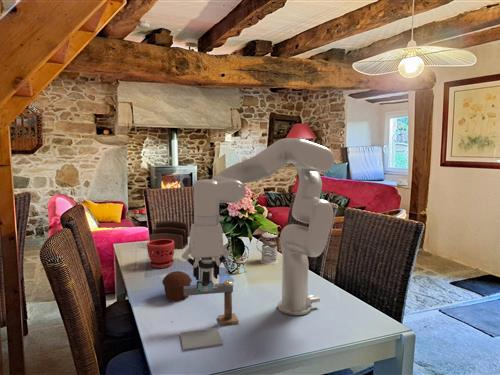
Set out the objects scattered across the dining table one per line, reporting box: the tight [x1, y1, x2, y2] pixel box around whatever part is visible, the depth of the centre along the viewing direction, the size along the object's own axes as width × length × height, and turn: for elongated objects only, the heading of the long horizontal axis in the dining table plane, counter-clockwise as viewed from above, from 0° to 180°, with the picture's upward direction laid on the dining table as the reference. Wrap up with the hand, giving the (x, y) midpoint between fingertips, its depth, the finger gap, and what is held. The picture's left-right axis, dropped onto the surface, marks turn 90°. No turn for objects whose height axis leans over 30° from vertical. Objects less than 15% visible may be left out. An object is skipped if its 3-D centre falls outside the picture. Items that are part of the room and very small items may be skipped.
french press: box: [256, 213, 280, 265], centre depth 196 cm, size 10×12×25 cm
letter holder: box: [149, 220, 189, 250], centre depth 224 cm, size 10×20×14 cm, turn 81°
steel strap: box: [184, 279, 234, 297], centre depth 130 cm, size 3×17×3 cm, turn 102°
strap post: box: [217, 292, 240, 327], centre depth 133 cm, size 6×6×10 cm
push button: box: [196, 257, 217, 292], centre depth 119 cm, size 7×5×10 cm
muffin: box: [162, 270, 193, 302], centre depth 152 cm, size 12×11×10 cm
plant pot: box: [146, 239, 175, 269], centre depth 190 cm, size 13×13×12 cm
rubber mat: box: [179, 327, 224, 352], centre depth 121 cm, size 12×10×1 cm
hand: (206, 277), depth 119 cm, fingers closed on push button, 5 cm apart
